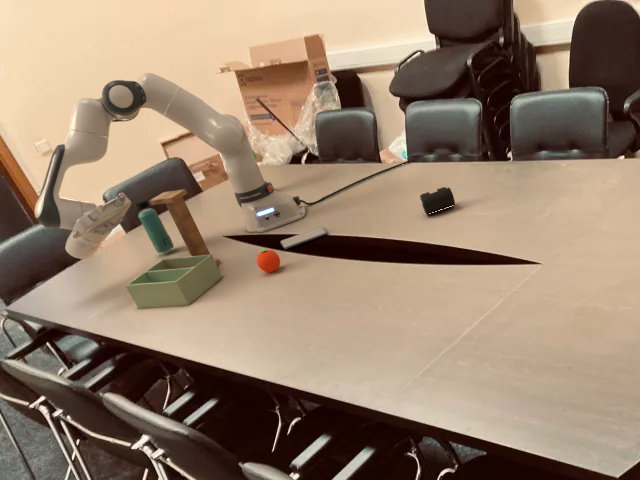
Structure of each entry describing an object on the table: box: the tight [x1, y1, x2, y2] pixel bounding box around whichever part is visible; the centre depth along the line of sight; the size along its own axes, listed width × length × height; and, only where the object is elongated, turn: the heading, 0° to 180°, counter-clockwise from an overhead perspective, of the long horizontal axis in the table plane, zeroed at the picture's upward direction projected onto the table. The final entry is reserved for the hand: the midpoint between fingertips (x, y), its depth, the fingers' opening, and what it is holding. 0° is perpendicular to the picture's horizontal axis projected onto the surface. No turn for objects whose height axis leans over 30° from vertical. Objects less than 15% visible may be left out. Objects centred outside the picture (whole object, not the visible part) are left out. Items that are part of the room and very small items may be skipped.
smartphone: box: [279, 226, 328, 250], centre depth 241 cm, size 8×1×15 cm
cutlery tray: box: [124, 253, 223, 309], centre depth 224 cm, size 20×18×8 cm
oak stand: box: [149, 188, 221, 266], centre depth 233 cm, size 9×7×26 cm
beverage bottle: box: [135, 199, 175, 254], centre depth 257 cm, size 6×7×20 cm
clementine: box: [256, 248, 281, 273], centre depth 222 cm, size 8×7×7 cm
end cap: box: [419, 186, 456, 217], centre depth 233 cm, size 10×7×7 cm
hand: (112, 201), depth 217 cm, fingers open, 8 cm apart
